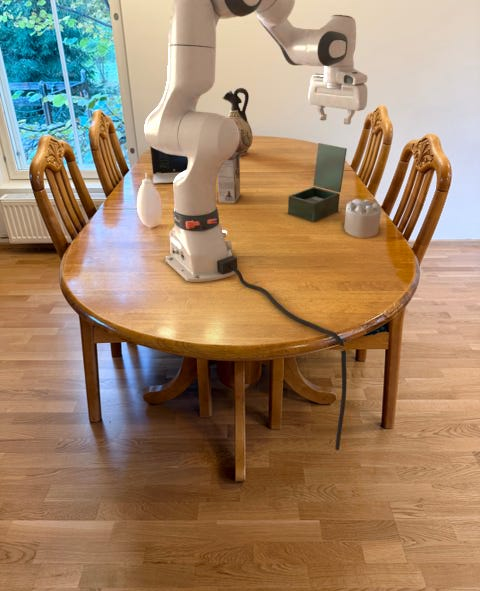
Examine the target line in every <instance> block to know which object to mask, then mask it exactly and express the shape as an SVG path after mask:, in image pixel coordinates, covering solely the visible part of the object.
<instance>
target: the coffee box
mask: <svg viewBox="0 0 480 591" xmlns="http://www.w3.org/2000/svg"><path fill="white" fill-rule="evenodd" d="M239 154H240V153H237V152H235V153H234V154H233V155H232V156H231V157H230V158H229V159H227V160H226V161H225V162H224V163H223V165H222V166H221V168H220V170H219V172H218V175H217V195H218V196H217V197H218V203H225V204H236V202H237V201H238V200H239V198H240V196H241V171H240V170H241V167H240V166H241V165H240V160H241V159H240V158H241V156H239Z"/></svg>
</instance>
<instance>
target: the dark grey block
mask: <svg viewBox="0 0 480 591" xmlns="http://www.w3.org/2000/svg"><path fill="white" fill-rule="evenodd" d="M306 200H307V201H311V202H314V203H315V202H318V201H320V200H323V199H322V198H319V197H315V196H313V197H311V198H308V199H306Z"/></svg>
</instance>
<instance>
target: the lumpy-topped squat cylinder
mask: <svg viewBox="0 0 480 591" xmlns="http://www.w3.org/2000/svg"><path fill="white" fill-rule="evenodd" d="M381 214H382V208H381V204H379V203H378V202H375V201H373V200H372V199H362V198H355V199H353V200H350V201H348V202H346V204H345V216H344V224H343V226H344V227H343V229H344V232H345V233H347V234H348V235H350V236H352V237H355V238H359V239H367V238H369V239H370V238H372V237H374V236H377V234H378V233H379V228H380V223H381V216H382V215H381Z"/></svg>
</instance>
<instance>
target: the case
mask: <svg viewBox="0 0 480 591" xmlns="http://www.w3.org/2000/svg"><path fill="white" fill-rule="evenodd" d="M313 196H315V197H319V198H322V199H323V200H320V201H318V202H315V203H314V202H311V201H307V200H306V199H308V198H311V197H313ZM340 196H341V193H339V192H335V191H331V190H328V189H324V188H320V187H316V186H311V187H309V188H306V189H304V190H301V191H298V192H296V193H293V194H290V195H288V197H287V198H288V202H287V215H291V216H294V217H297V218H300V219H303V220H305V221H309V222H311V223H315V222H317V221H320V220H322V219H324V218H326V217H329V216H331V215H333V214H336V213H338V212H339V209H340V208H339V207H340V206H339V205H340Z"/></svg>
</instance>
